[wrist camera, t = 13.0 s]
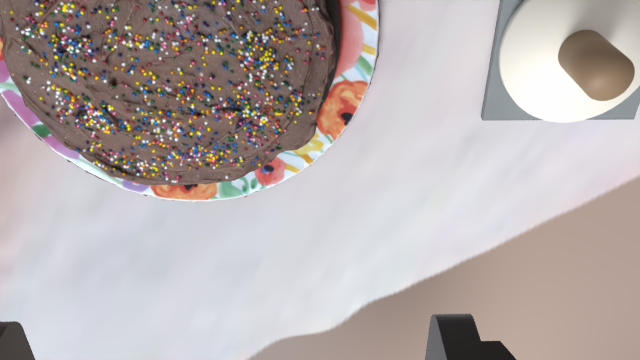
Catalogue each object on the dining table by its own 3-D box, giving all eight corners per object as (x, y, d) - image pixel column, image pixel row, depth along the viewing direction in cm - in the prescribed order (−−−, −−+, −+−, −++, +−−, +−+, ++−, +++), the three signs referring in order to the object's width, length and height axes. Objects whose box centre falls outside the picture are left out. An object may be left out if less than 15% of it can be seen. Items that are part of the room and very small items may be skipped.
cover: (512, -33, 40) (540, -10, 35) (677, -34, 40) (726, -10, 35) (486, 116, 46) (507, 153, 41) (630, 115, 46) (667, 152, 41)
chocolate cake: (189, 247, 53) (176, 300, 48) (-113, 8, 41) (-177, 42, 36) (456, 49, 44) (478, 87, 38) (165, -335, 32) (136, -361, 26)
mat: (506, -41, 40) (509, -38, 39) (679, -41, 40) (684, -39, 40) (480, 116, 46) (482, 120, 46) (630, 115, 47) (633, 119, 46)
